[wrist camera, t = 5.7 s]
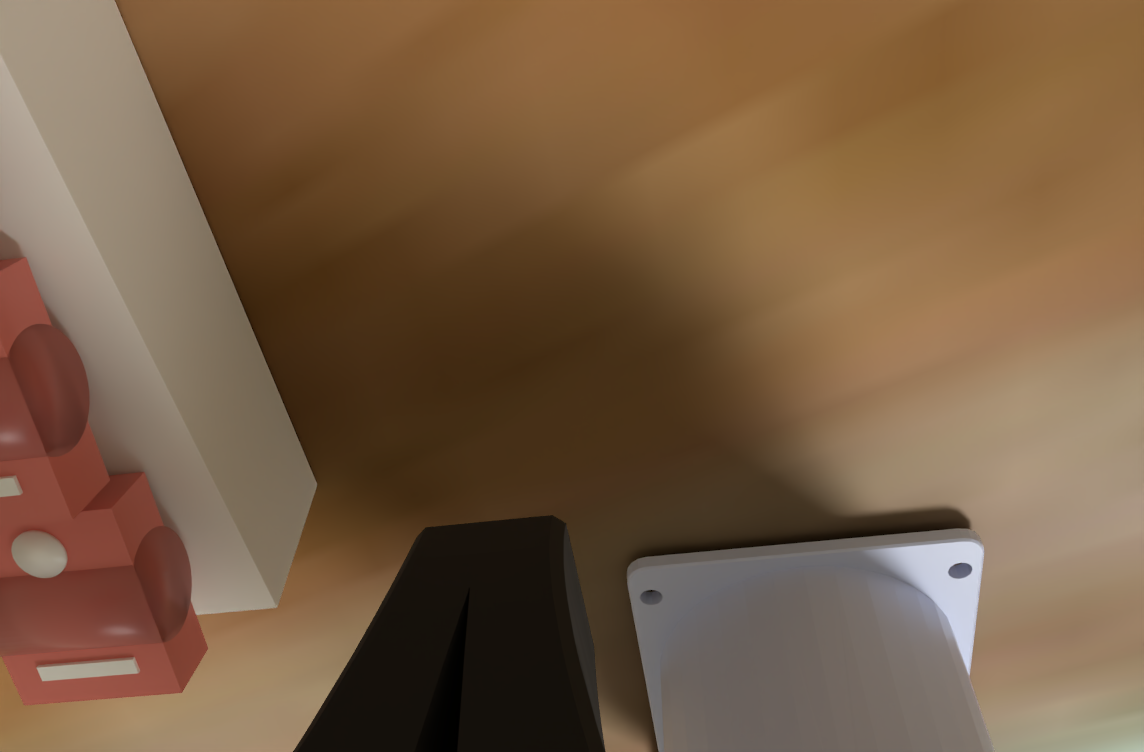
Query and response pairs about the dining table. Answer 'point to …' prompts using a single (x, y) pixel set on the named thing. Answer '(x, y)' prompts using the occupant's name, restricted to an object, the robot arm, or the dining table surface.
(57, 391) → the red stepped block
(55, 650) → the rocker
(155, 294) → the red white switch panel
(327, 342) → the dining table surface
